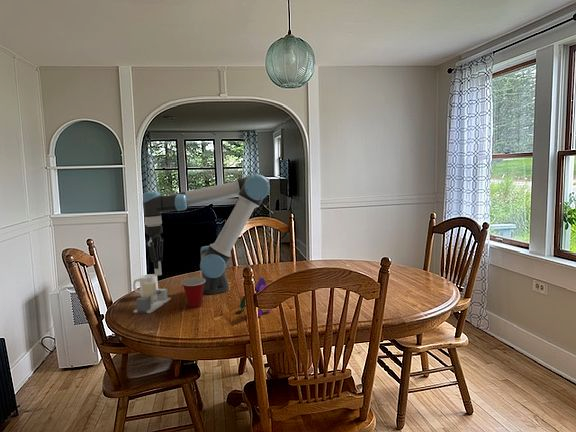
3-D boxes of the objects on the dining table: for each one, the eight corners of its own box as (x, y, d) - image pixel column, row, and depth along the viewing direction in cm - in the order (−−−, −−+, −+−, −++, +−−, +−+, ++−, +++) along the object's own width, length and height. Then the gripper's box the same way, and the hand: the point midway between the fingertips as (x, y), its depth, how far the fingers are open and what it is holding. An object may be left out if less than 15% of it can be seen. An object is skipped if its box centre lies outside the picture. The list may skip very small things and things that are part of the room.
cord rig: (155, 298, 210) (154, 286, 209) (170, 299, 209) (169, 287, 208) (133, 312, 190) (132, 299, 190) (150, 313, 189) (149, 299, 188)
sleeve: (148, 300, 200) (146, 282, 199) (157, 301, 199) (156, 282, 198) (143, 303, 196) (142, 284, 195) (153, 303, 195) (151, 284, 194)
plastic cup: (180, 310, 191) (179, 283, 190) (184, 303, 202) (183, 277, 201) (205, 309, 192) (204, 282, 191) (208, 301, 203) (206, 276, 201)
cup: (155, 298, 211) (154, 278, 210) (130, 299, 211) (129, 278, 210) (160, 293, 219) (159, 273, 218) (136, 294, 219) (135, 274, 218)
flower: (236, 328, 181) (259, 318, 174) (222, 295, 184) (243, 284, 177) (257, 317, 194) (279, 307, 187) (243, 287, 196) (264, 276, 189)
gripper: (152, 223, 208) (157, 271, 211) (139, 227, 195) (144, 278, 198) (167, 223, 207) (171, 271, 209) (154, 227, 194) (159, 278, 197)
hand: (158, 274), depth 204 cm, fingers closed
